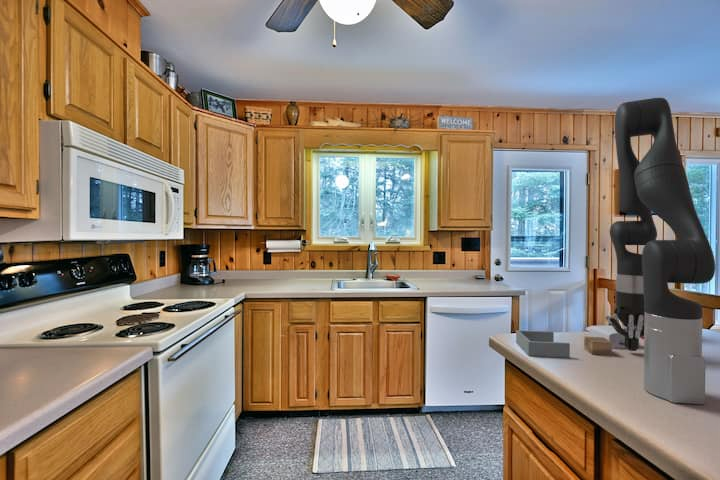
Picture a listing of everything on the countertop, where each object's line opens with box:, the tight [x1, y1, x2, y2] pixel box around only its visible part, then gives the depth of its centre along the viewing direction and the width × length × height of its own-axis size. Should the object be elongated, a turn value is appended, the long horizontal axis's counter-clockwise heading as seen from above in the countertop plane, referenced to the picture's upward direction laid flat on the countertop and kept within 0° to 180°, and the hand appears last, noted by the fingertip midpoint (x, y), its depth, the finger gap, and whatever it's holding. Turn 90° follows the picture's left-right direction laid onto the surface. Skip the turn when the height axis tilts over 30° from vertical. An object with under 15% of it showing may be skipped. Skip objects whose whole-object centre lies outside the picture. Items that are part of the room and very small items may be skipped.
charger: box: [585, 324, 627, 349], centre depth 111 cm, size 5×9×15 cm
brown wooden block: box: [583, 335, 613, 357], centre depth 100 cm, size 5×5×4 cm
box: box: [515, 329, 571, 359], centre depth 102 cm, size 12×11×4 cm
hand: (631, 350), depth 98 cm, fingers closed
